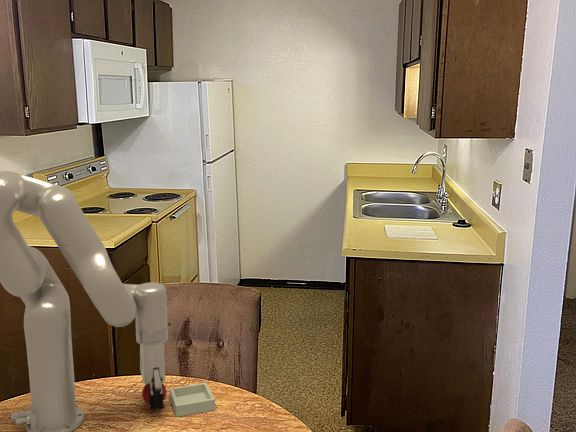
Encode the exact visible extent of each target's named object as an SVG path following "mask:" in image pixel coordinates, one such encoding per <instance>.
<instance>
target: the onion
mask: <svg viewBox="0 0 576 432" xmlns="http://www.w3.org/2000/svg"><path fill="white" fill-rule="evenodd" d="M151 381H152V382H153V381H154V379H152V380H151ZM153 387H155V384H153ZM162 392H163V401H164V400H165V399H166V396H167V388H166V386H165V384H164V382H162ZM149 394H151V393H150V384H147V385H146V384H144V386H143V389H142V394H141V396H142V399H143V401H144V403H145V404H147V405H148V406H150V399H149Z"/></svg>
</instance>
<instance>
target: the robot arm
mask: <svg viewBox="0 0 576 432" xmlns="http://www.w3.org/2000/svg"><path fill="white" fill-rule="evenodd" d="M15 211H17V212H20V213H23V214H28V215H32V216H36V217H38V219H40V221H41V223H42V225H43V226H44V227H45V229H46V231H47V232H48V234H49V235H50V237H51V238H52V240H53V241H54V242H55V244H56V245H57V247H58V249H59V250H60V252H61V253H62V255H63V257H64V258H65V259H66V261H67V263H68V265H69V266H70V268H71V270H72V271H73V273H74V274H75V276H76V277H77V279H78V280H79V282H80V284H81V285H82V287H83V289H84V290H85V292H86V293H87V295H88V298H89V299H90V300H91V302H92V303H93V305H94V307H95V308H96V309H97V310H98V312H99V314H100V315H101V317H102V318H103V319H104V321H105V322H106V323H107V324H109V325H110V326H112V327H115V328H120V327H121V328H123V327H126V326H128V325H129V324H131V323H132V322H133V321H134V320H135V336H136V337H135V338H136V339H135V340H136V343H137V344H139V370H140V374H141V378H142V381H143V384H144V385H147V384H150V393H151V394H149V399H150V405H149V410H151V411H154V410H159V409H163V408H164V400H163V392H162V383H164V381H165V377H166V373H165V371H166V370H165V369H166V368H165V367H166V366H165V365H166V363H165V362H166V361H165V344H164V343H165V342H167V341H168V339H169V329H168V328H169V327H168V305H167V304H168V303H167V302H168V301H167V300H168V299H167V298H168V297H167V289H166V286H165V285H164V284H162V283H161V282H154V281H151V282H144V283H141V284H134V283H133V284H131V283H123V282H122V280H121V278H120V277H119V275H118V273H117V271H116V270H115V268H114V266H113V263H112V262H111V260H110V256H109V254H108V252H107V249H106V247H105V245H104V243H103V241H102V240H101V238H100V237H99V235H98V233H97V232H96V230H95V229H94V228H93V226H92V225H91V223H90V221H89V220H88V218H87V216H86V215H85V213H84V212H83V210H82V208H81V206H80V205H79V203H78V200H77V197H76V195H75V194H74V192H73V191H72V190H70V189H68V188H67V187H65V186H63V185H62V186H61V185H58V184H54V183H51V182H48V181H45V180H41V179H37V178H34V177H31V176H27V175H25V174H21V173H18V172H16V171H11V170H1V171H0V284H1V285H2V287H3V288H4V289H5V291H6V292H8V293H9V294H11V295H12V296H13V297H18V298H20V300H21V301H22V302H23V304H24V305H25V309H24V314H23V315H24V316H23V330H24V338H25V345H26V355H27V356H26V357H27V366H28V375H29V389H30V391H29V392H30V402H31V404H30V408H27V409H25V410H24V411H23V410H22V411H15V412H11V413H10V421H11V422H15V425H16V426H19V425H22V424H25V431H26V432H73V431H75V430H76V429H78V428H79V427H80V426H81V425H82V424H83V422H84V419H85V418H84V417H85V416H84V412H83V411H82V409H80V408H78V407H77V403H76V401H77V400H76V384H75V371H74V356H73V354H74V353H73V342H72V327H71V326H72V324H71V323H72V319H71V317H72V316H71V303H70V297H69V294H68V292H67V290H66V288H65V286H64V285H63V283H62V282H61V280H60V278H59V277H58V275H57V274H56V272H55V270H54V269H53V267H52V265H51V264H50V262H49V261H48V259H47V257H46V256H45V254H44V253H42V252H41V251H40V250H39V249H37V248H36V247H33V246H30V245H28V243H27V241H26V240H25V238H24V236H23V234H22V233H21V231H20V230H19V228H18V227H17V225H16V224H15V223H14V220H13V214H14V212H15ZM152 379H154V381H153V382H152V381H151V380H152ZM153 384H155V387H153Z"/></svg>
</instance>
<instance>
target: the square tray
mask: <svg viewBox="0 0 576 432" xmlns="http://www.w3.org/2000/svg"><path fill="white" fill-rule="evenodd" d="M169 399H170V403H171V406H172V408H173V411H174V414H175V417H176V418H179V417H184V416H188V415H189V416H190V415H194V414H201V413H205V412H211V411H216V398H215V396H214V395H213V392H212V390H211V389H210V386H209V385H208V382H200V383H193V384H188V385H183V386H177V387H169Z"/></svg>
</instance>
